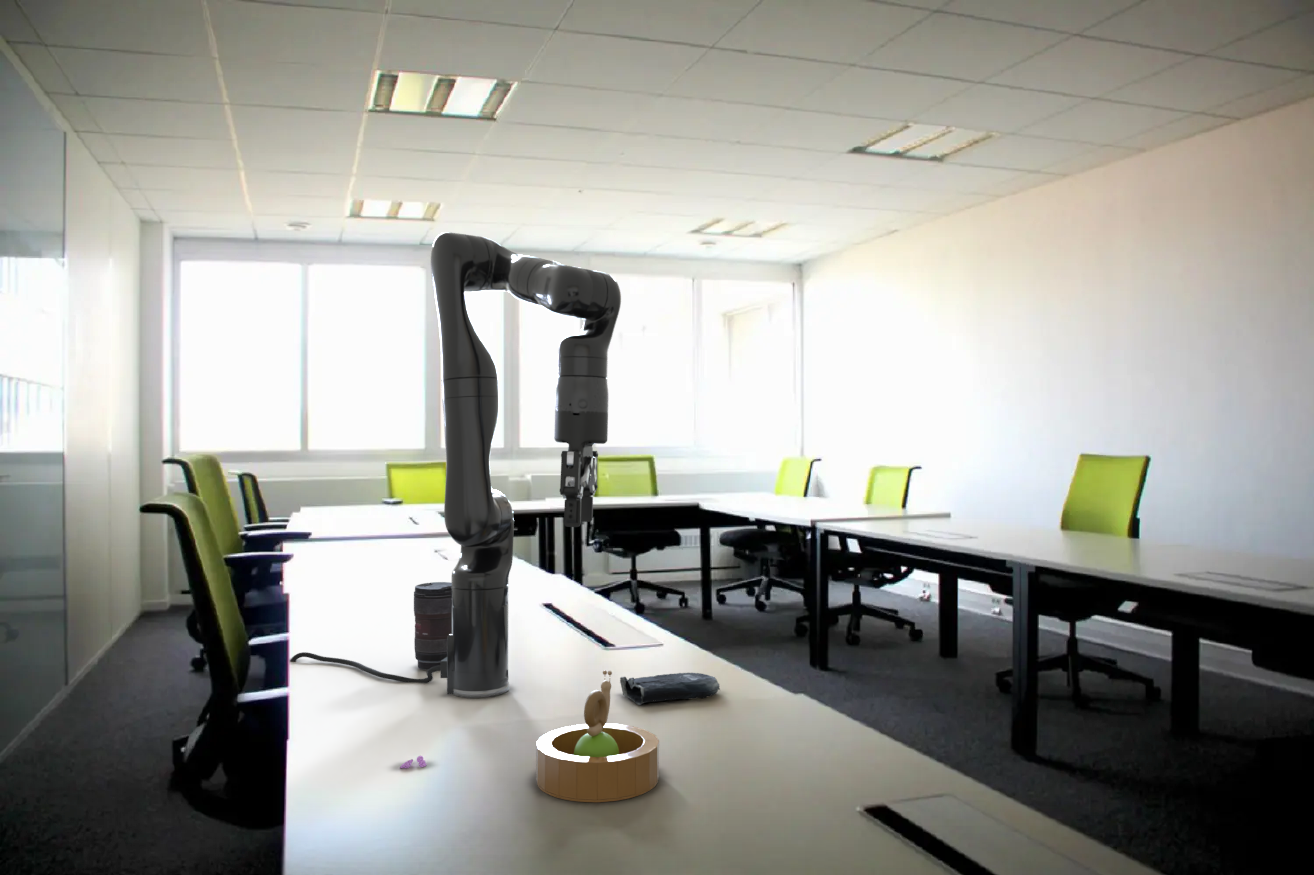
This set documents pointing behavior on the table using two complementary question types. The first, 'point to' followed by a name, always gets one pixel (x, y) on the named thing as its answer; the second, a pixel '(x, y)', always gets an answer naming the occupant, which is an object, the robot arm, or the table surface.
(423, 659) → the camera lens
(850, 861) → the table surface
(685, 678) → the dark blue pouch
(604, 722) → the snail figurine
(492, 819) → the table surface
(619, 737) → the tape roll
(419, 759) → the earpods
